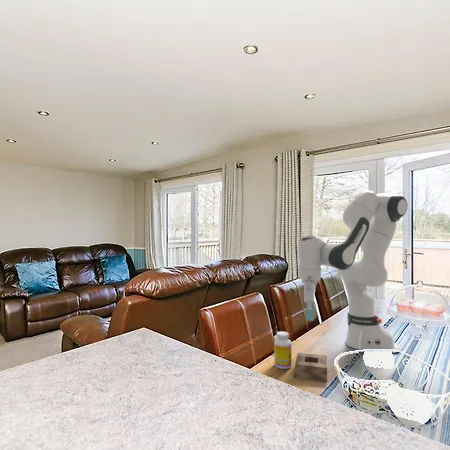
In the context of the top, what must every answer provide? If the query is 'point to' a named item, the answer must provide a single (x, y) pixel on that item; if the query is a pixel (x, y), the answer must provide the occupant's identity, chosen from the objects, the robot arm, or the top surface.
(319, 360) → the socket block
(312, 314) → the teal peg
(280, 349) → the supplement bottle
